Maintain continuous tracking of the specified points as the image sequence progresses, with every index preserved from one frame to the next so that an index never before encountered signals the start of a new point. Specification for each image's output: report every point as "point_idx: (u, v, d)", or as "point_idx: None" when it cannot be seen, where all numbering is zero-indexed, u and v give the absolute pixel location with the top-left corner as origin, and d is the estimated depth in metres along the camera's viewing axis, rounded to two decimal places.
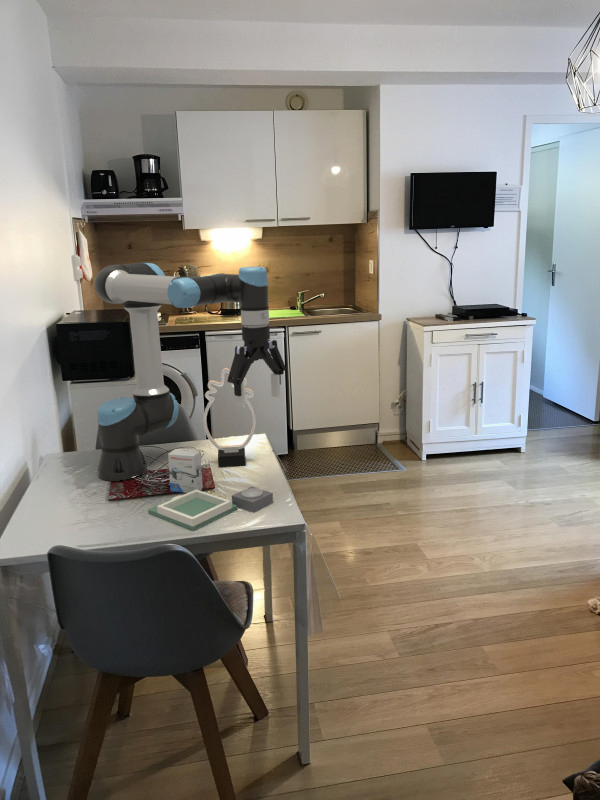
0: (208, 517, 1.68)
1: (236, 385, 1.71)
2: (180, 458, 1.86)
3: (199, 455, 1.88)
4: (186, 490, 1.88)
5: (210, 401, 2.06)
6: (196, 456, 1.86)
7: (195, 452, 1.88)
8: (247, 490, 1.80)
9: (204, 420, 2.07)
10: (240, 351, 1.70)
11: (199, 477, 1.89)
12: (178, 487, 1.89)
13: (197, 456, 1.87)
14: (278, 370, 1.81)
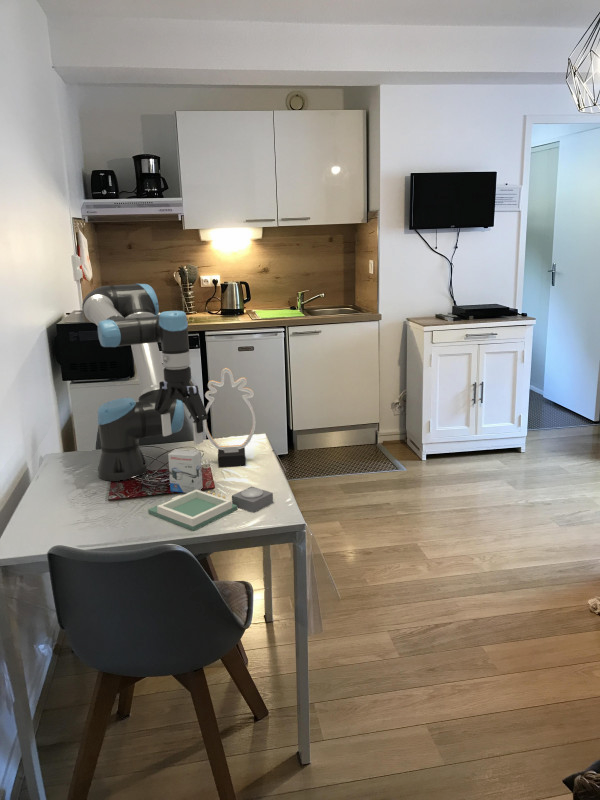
0: (208, 517, 1.68)
1: None
2: (180, 458, 1.86)
3: (199, 455, 1.88)
4: (186, 490, 1.88)
5: (210, 401, 2.06)
6: (196, 456, 1.86)
7: (195, 452, 1.88)
8: (247, 490, 1.80)
9: (204, 420, 2.07)
10: None
11: (199, 477, 1.89)
12: (178, 487, 1.89)
13: (197, 456, 1.87)
14: (194, 417, 1.79)
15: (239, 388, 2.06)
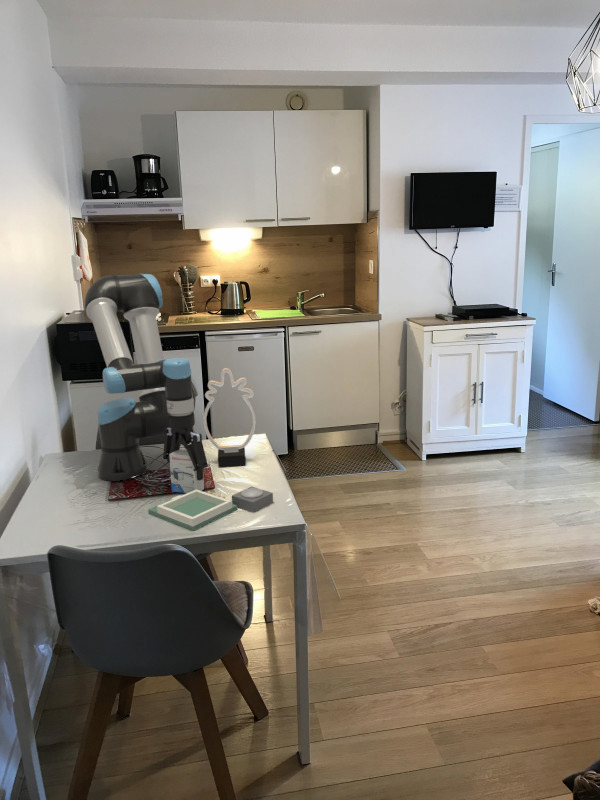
0: (208, 517, 1.68)
1: None
2: (181, 458, 1.86)
3: None
4: (187, 491, 1.88)
5: (210, 401, 2.06)
6: None
7: None
8: (247, 490, 1.80)
9: (204, 420, 2.07)
10: None
11: None
12: (180, 487, 1.88)
13: None
14: (194, 465, 1.84)
15: (239, 388, 2.06)
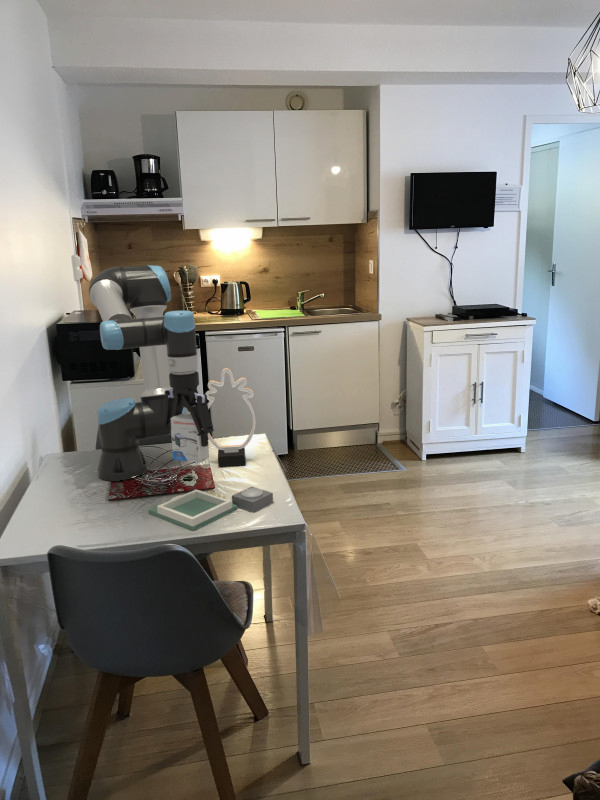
0: (208, 517, 1.68)
1: None
2: (184, 422, 1.68)
3: None
4: (190, 459, 1.69)
5: (210, 401, 2.06)
6: None
7: None
8: (247, 490, 1.80)
9: None
10: None
11: None
12: (182, 455, 1.70)
13: None
14: (198, 429, 1.65)
15: (239, 388, 2.06)
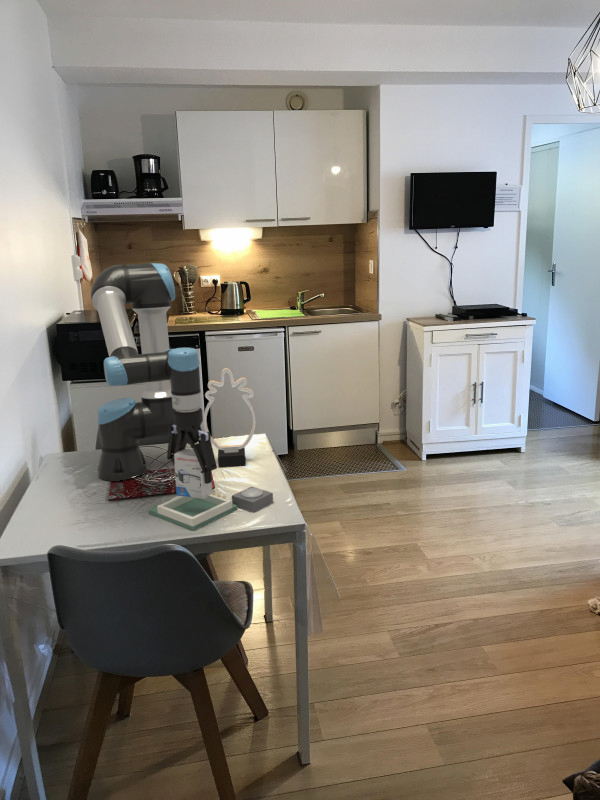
0: (208, 517, 1.68)
1: None
2: (187, 459, 1.68)
3: None
4: (193, 495, 1.70)
5: (210, 401, 2.06)
6: None
7: None
8: (247, 490, 1.80)
9: (204, 420, 2.07)
10: None
11: None
12: (185, 491, 1.70)
13: None
14: (202, 467, 1.66)
15: (239, 388, 2.06)
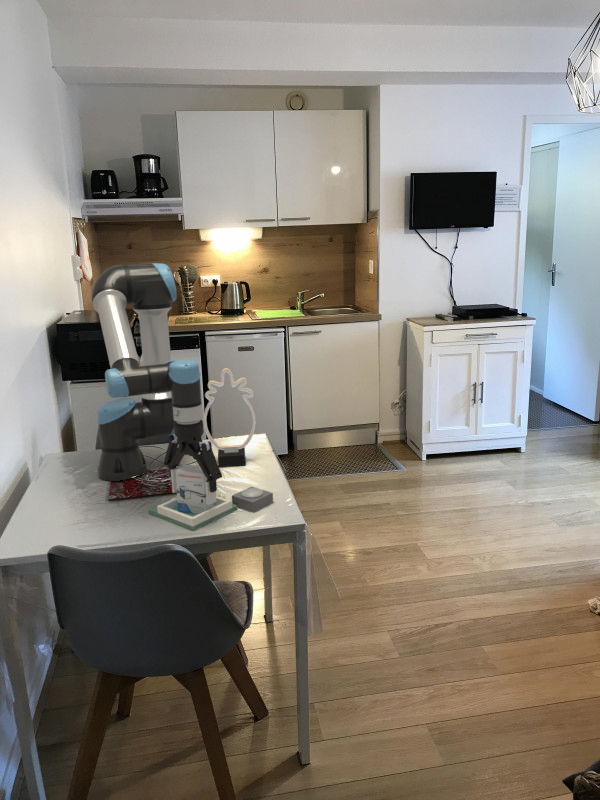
0: (208, 517, 1.68)
1: None
2: (188, 475, 1.69)
3: None
4: (195, 511, 1.71)
5: (210, 401, 2.06)
6: None
7: None
8: (247, 490, 1.80)
9: (204, 420, 2.07)
10: None
11: None
12: (187, 507, 1.71)
13: None
14: (206, 476, 1.65)
15: (239, 388, 2.06)
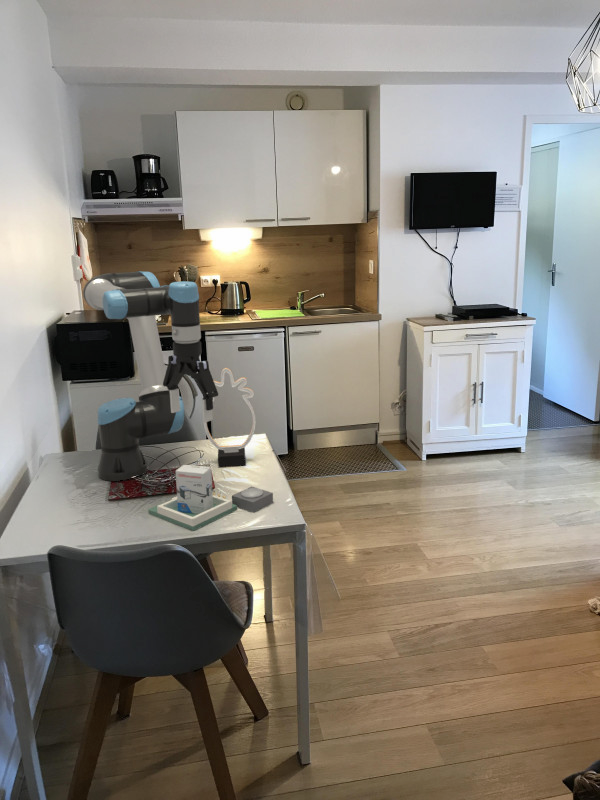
0: (208, 517, 1.68)
1: None
2: (188, 475, 1.69)
3: (209, 472, 1.71)
4: (195, 511, 1.71)
5: None
6: (206, 473, 1.69)
7: (205, 469, 1.70)
8: (247, 490, 1.80)
9: None
10: None
11: (209, 496, 1.71)
12: (187, 507, 1.71)
13: (207, 473, 1.70)
14: (203, 394, 1.71)
15: (239, 388, 2.06)
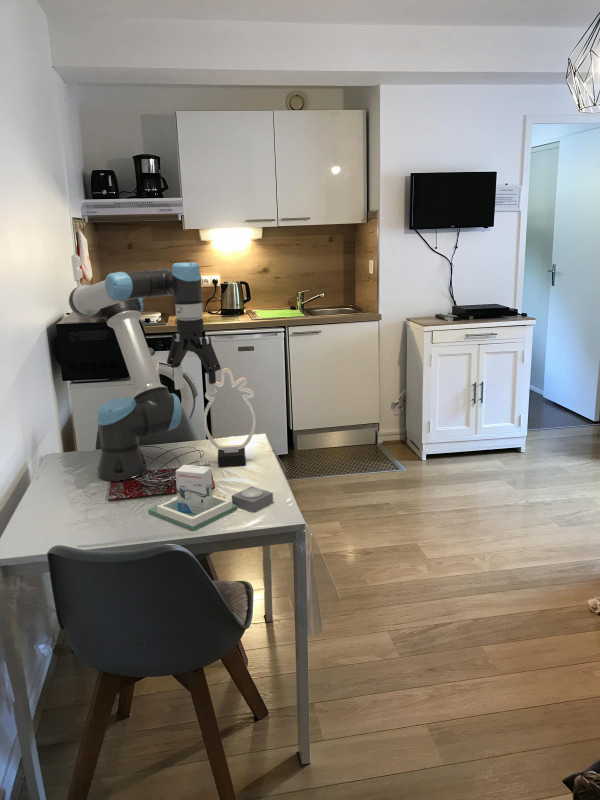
0: (208, 517, 1.68)
1: None
2: (188, 475, 1.69)
3: (209, 472, 1.71)
4: (195, 511, 1.71)
5: (210, 401, 2.06)
6: (206, 473, 1.69)
7: (205, 469, 1.70)
8: (247, 490, 1.80)
9: (204, 420, 2.07)
10: None
11: (209, 496, 1.71)
12: (187, 507, 1.71)
13: (207, 473, 1.70)
14: (206, 368, 1.81)
15: (239, 388, 2.06)
